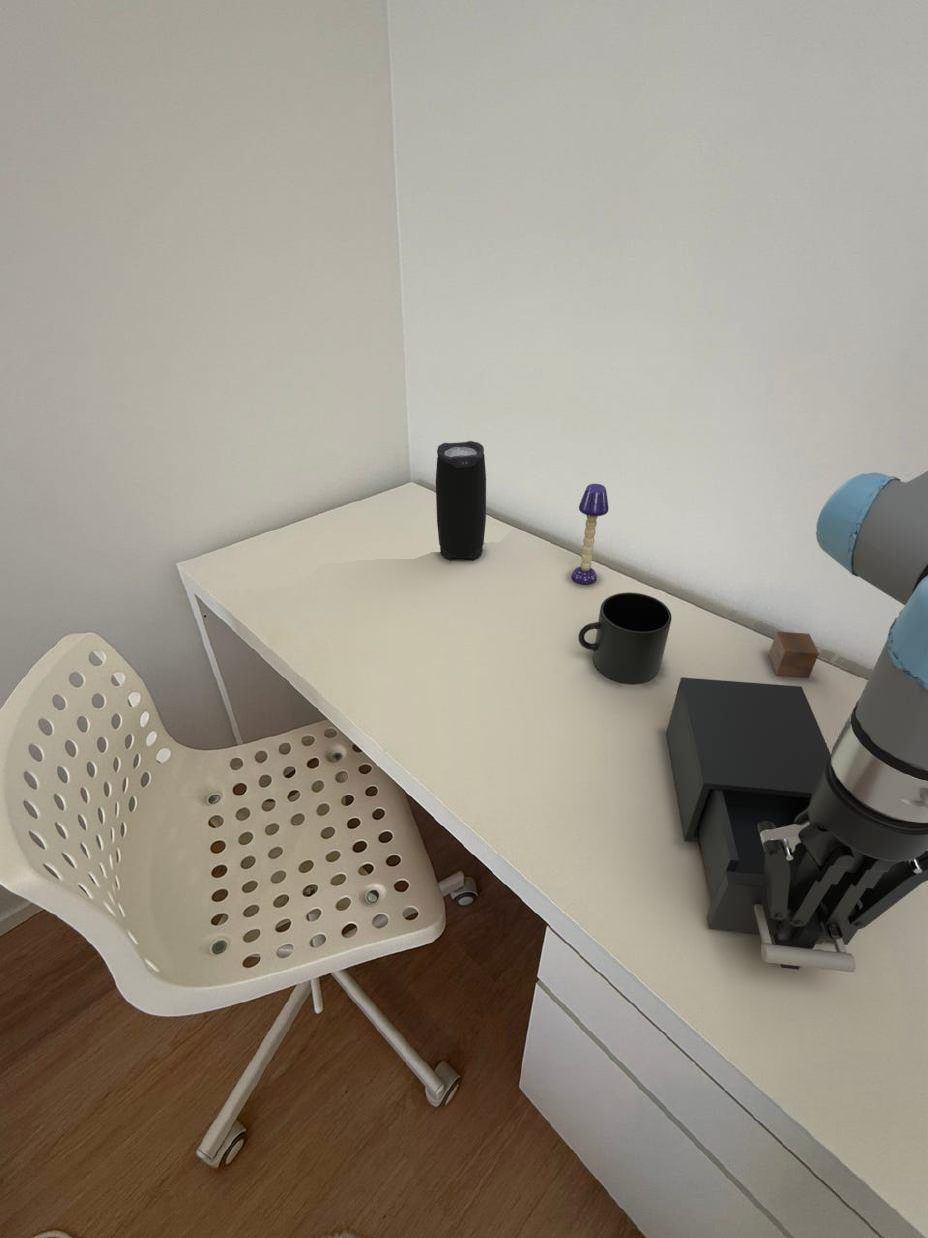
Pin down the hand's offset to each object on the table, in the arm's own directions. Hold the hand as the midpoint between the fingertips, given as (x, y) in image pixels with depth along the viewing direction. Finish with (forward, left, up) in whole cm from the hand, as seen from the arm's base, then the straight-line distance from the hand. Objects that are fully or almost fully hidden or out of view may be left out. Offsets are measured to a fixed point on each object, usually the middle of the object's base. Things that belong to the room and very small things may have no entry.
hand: (785, 953), depth 58 cm
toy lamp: (+16, -63, -2) cm, 65 cm away
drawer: (0, -7, -1) cm, 7 cm away
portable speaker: (+38, -69, -2) cm, 79 cm away
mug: (+12, -41, -2) cm, 43 cm away
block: (-12, -43, -2) cm, 45 cm away
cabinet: (0, -20, -2) cm, 20 cm away
